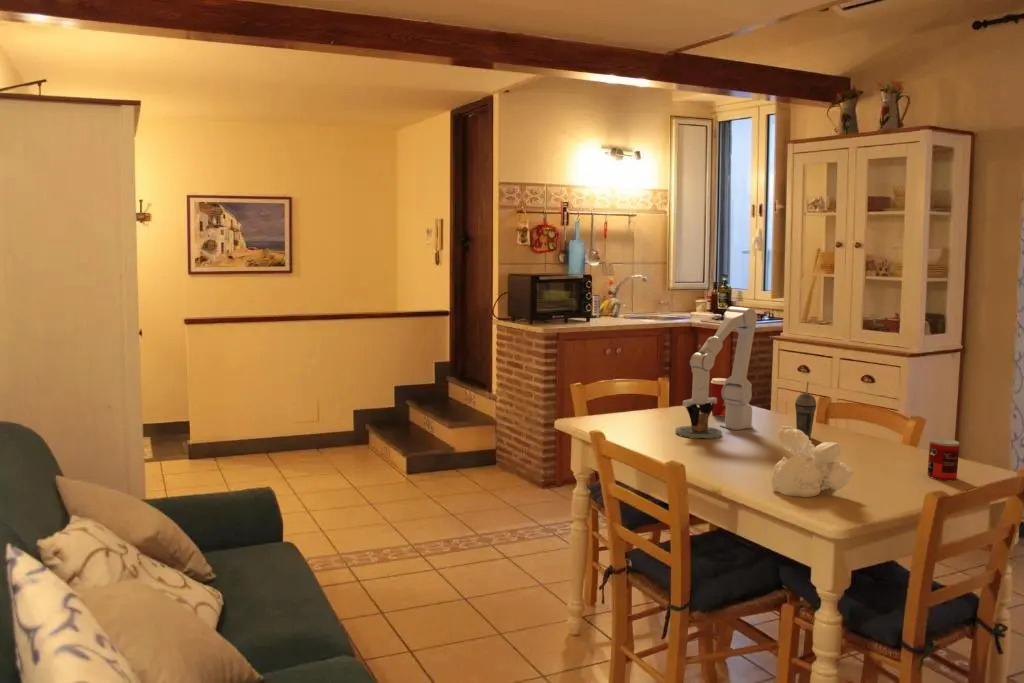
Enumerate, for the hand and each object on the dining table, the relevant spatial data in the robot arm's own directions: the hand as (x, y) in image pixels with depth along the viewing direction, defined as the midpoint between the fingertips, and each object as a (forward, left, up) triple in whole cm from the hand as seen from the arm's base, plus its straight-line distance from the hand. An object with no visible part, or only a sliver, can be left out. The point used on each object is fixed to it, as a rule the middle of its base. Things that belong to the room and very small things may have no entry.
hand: (698, 425), depth 321 cm
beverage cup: (-30, +21, -3) cm, 37 cm away
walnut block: (0, 0, -2) cm, 2 cm away
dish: (0, 0, -3) cm, 3 cm away
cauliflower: (+23, +68, -3) cm, 72 cm away
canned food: (-24, +77, -3) cm, 81 cm away
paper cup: (-32, -22, -3) cm, 39 cm away
